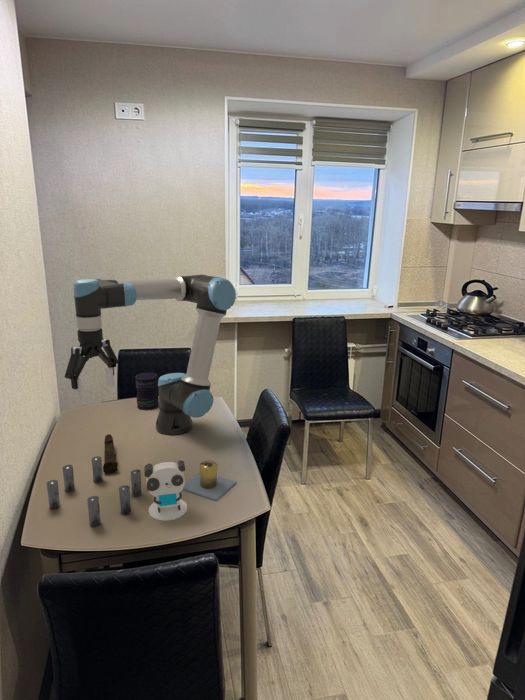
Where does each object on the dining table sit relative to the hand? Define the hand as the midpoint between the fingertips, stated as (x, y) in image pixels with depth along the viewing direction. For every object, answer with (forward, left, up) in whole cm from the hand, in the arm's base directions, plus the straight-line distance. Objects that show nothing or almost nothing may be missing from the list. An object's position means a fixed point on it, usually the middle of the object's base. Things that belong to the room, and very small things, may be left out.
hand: (94, 391), depth 156 cm
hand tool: (-7, -4, -29) cm, 30 cm away
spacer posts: (+14, +13, -29) cm, 34 cm away
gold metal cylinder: (-10, +38, -28) cm, 48 cm away
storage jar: (-52, -25, -29) cm, 65 cm away
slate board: (-10, +38, -29) cm, 49 cm away
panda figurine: (+7, +35, -29) cm, 46 cm away
